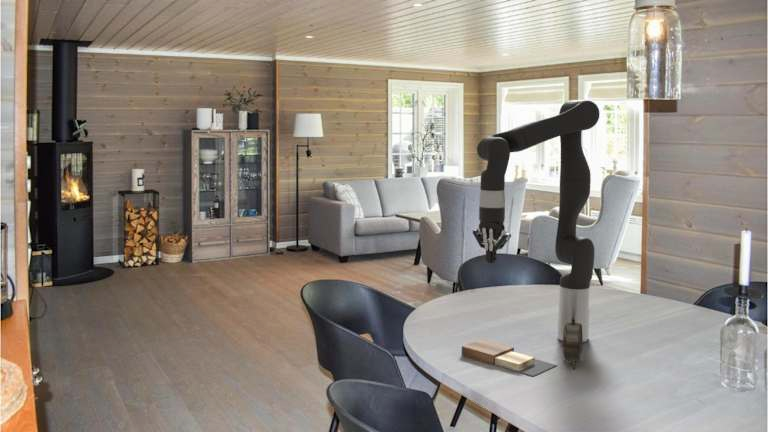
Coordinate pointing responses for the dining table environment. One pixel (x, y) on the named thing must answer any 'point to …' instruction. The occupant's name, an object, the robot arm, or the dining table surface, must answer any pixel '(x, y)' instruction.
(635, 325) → the dining table surface
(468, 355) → the board
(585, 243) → the robot arm
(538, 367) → the mat
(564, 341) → the alarm clock
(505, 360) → the coaster
